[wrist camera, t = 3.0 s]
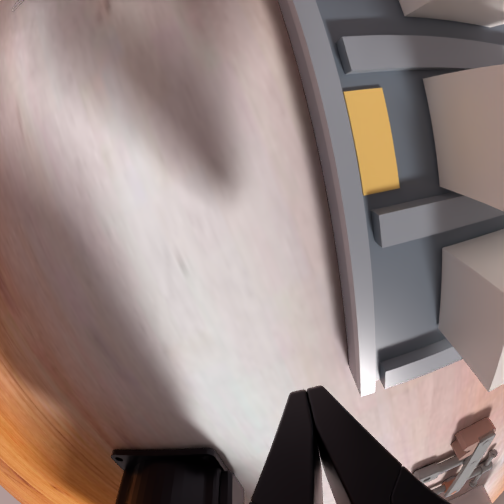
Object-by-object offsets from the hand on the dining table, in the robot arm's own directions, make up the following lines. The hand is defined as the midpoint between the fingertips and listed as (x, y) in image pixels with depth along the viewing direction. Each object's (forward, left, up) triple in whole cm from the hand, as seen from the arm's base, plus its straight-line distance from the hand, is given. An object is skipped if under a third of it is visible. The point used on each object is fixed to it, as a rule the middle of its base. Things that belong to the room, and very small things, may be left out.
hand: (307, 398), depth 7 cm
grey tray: (+11, +6, -4) cm, 13 cm away
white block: (+8, 0, -3) cm, 8 cm away
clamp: (+12, -21, -5) cm, 25 cm away
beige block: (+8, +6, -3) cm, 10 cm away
